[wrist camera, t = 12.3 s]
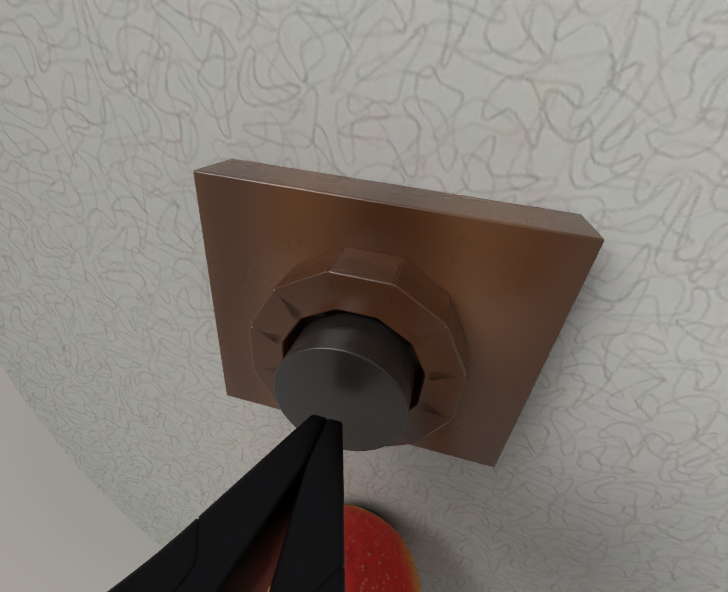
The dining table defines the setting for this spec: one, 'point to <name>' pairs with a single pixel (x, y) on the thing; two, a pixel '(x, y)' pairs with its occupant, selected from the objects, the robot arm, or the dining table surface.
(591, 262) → the button block
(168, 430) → the dining table surface
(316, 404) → the button
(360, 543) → the apple
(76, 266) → the dining table surface
